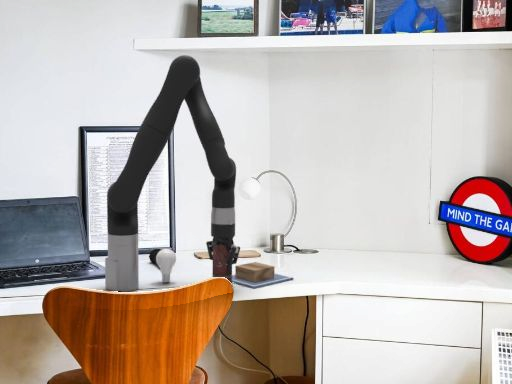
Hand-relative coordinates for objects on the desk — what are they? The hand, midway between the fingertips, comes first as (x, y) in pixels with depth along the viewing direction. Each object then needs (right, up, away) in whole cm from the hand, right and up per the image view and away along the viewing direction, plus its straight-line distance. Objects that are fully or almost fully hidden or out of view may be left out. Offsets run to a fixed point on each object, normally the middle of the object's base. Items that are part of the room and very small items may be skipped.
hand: (222, 275), depth 209 cm
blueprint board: (+11, -3, +11) cm, 15 cm away
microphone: (-24, -1, +27) cm, 36 cm away
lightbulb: (-18, -3, +5) cm, 19 cm away
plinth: (+10, -2, +10) cm, 14 cm away
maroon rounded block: (0, -4, 0) cm, 4 cm away
